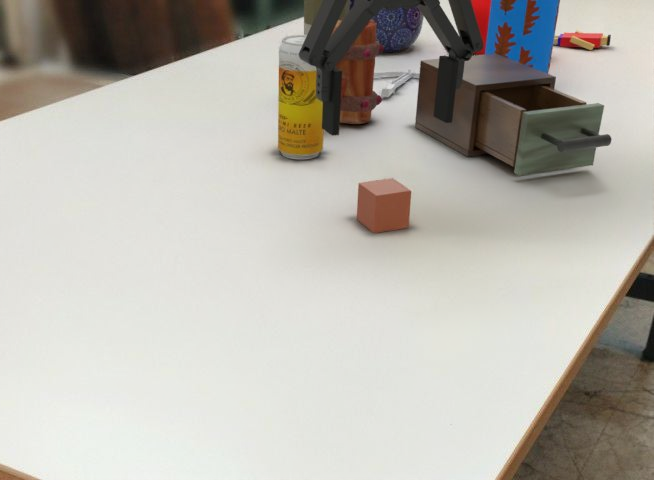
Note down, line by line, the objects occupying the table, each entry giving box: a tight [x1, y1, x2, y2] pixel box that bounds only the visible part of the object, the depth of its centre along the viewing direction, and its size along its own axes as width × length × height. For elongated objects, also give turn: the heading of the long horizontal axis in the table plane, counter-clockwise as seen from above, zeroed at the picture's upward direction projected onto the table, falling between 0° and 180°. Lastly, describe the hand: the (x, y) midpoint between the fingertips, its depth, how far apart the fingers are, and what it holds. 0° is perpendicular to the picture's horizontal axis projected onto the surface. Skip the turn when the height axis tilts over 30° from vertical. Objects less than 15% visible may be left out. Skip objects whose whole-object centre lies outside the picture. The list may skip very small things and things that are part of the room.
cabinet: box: [414, 53, 557, 158], centre depth 132 cm, size 15×13×10 cm
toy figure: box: [553, 30, 612, 51], centre depth 185 cm, size 2×7×12 cm
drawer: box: [474, 84, 612, 177], centre depth 121 cm, size 18×11×8 cm, turn 22°
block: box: [356, 177, 412, 234], centre depth 105 cm, size 4×4×4 cm
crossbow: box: [374, 69, 420, 98], centre depth 157 cm, size 16×13×2 cm
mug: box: [332, 20, 384, 125], centre depth 135 cm, size 15×8×15 cm, turn 149°
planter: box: [349, 0, 425, 54], centre depth 179 cm, size 17×17×15 cm
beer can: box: [277, 34, 324, 161], centre depth 123 cm, size 6×6×15 cm
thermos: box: [485, 0, 561, 74], centre depth 152 cm, size 11×11×25 cm
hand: (387, 125), depth 100 cm, fingers open, 13 cm apart
